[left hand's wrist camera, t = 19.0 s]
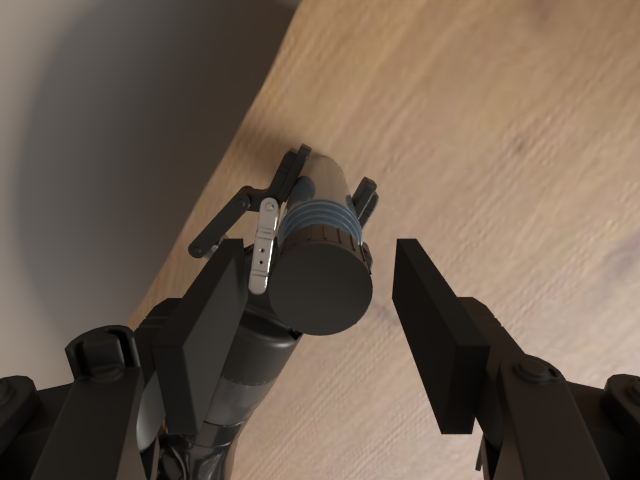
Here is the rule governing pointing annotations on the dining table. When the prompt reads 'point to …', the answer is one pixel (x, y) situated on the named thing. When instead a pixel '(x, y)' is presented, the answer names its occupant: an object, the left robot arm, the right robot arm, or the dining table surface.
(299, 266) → the cap
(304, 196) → the bottle
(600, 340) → the dining table surface
